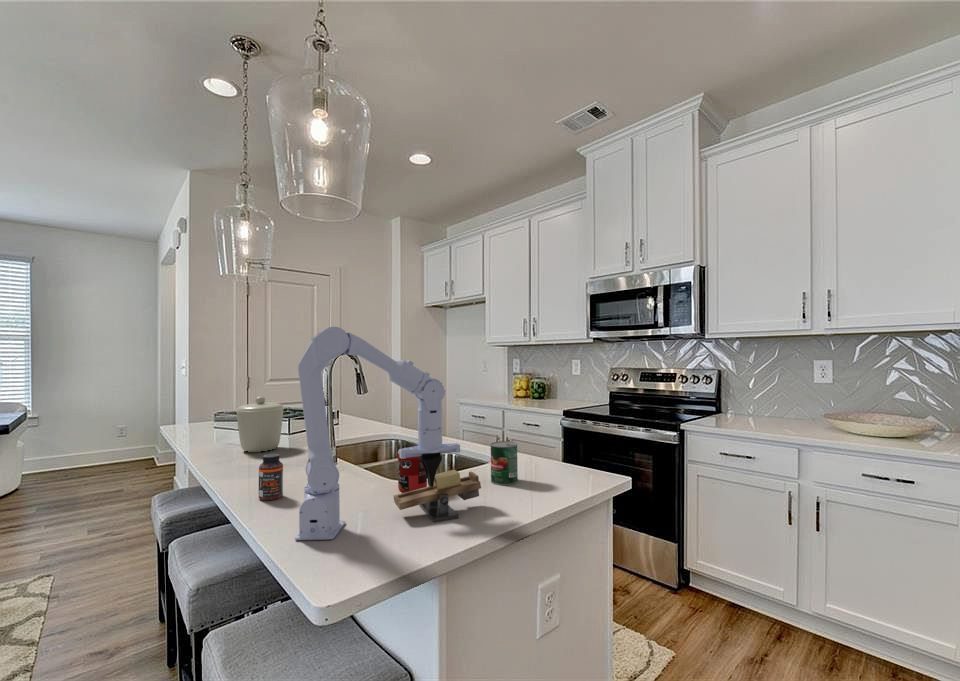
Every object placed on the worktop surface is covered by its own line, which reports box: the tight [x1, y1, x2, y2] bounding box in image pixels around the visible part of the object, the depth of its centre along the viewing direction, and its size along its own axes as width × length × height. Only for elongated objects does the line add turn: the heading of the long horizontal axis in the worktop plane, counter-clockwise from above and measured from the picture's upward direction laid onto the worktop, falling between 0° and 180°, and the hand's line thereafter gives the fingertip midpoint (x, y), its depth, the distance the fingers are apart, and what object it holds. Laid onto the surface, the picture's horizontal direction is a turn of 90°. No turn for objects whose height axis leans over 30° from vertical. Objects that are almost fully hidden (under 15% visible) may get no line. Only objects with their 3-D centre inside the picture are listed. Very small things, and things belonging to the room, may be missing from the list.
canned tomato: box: [490, 440, 519, 486], centre depth 135 cm, size 8×8×11 cm
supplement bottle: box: [258, 453, 284, 502], centre depth 123 cm, size 6×6×11 cm
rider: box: [433, 469, 461, 492], centre depth 111 cm, size 6×4×4 cm, turn 113°
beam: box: [393, 471, 482, 511], centre depth 110 cm, size 20×6×5 cm, turn 113°
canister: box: [234, 396, 286, 453], centre depth 182 cm, size 18×18×21 cm
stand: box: [418, 484, 460, 523], centre depth 110 cm, size 6×12×5 cm, turn 23°
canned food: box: [397, 446, 428, 493], centre depth 128 cm, size 8×8×11 cm
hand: (430, 485), depth 110 cm, fingers closed
